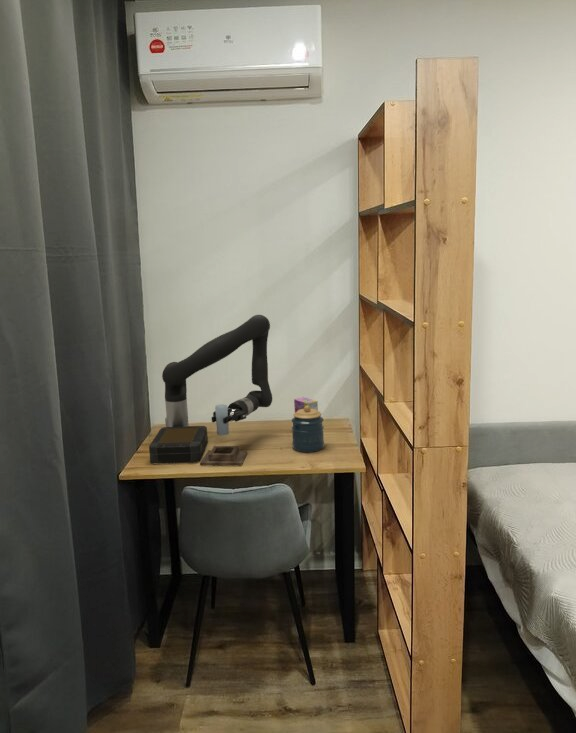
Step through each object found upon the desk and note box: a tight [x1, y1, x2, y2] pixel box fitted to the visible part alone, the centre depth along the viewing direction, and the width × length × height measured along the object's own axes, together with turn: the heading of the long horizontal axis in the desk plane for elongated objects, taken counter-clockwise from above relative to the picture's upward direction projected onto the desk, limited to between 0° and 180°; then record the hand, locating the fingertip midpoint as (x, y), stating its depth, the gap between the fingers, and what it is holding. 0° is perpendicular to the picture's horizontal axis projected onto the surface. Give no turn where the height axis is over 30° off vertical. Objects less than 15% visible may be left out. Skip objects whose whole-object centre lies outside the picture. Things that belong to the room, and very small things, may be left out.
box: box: [293, 396, 319, 413], centre depth 278 cm, size 10×6×12 cm, turn 37°
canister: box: [291, 406, 325, 453], centre depth 247 cm, size 13×13×18 cm
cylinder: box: [214, 404, 230, 436], centre depth 235 cm, size 5×5×11 cm
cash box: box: [148, 425, 209, 464], centre depth 247 cm, size 25×20×8 cm
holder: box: [199, 445, 248, 467], centre depth 238 cm, size 16×14×4 cm
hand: (218, 420), depth 233 cm, fingers closed on cylinder, 4 cm apart
